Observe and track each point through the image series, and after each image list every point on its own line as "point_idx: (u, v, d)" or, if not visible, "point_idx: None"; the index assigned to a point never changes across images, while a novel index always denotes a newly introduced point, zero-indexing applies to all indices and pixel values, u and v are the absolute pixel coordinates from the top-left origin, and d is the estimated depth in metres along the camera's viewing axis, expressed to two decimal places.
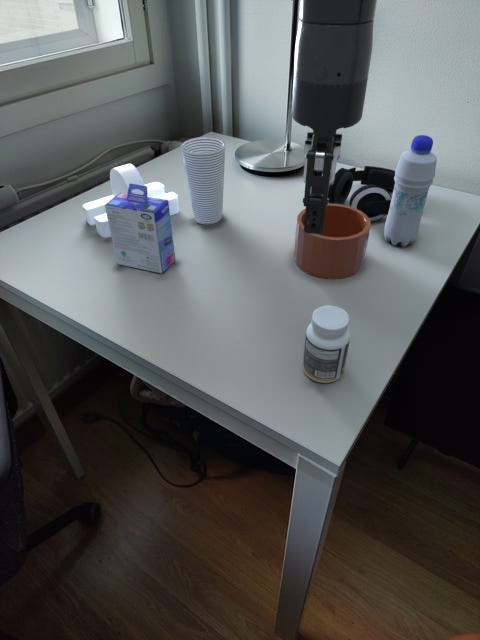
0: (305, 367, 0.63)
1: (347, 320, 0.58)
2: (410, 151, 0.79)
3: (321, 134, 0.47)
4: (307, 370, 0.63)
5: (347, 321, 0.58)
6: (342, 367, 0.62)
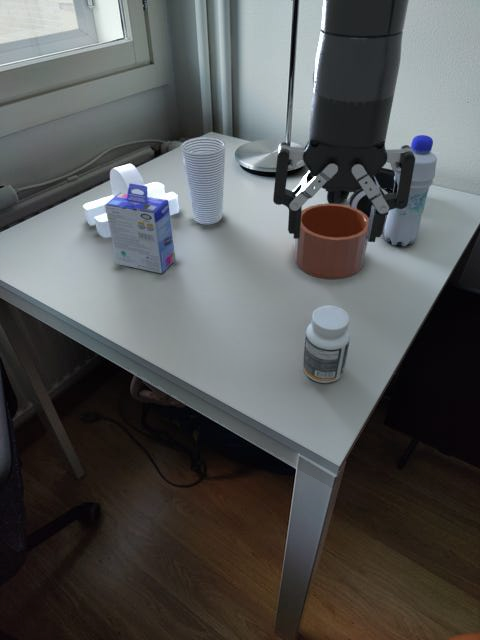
0: (305, 367, 0.63)
1: (347, 320, 0.58)
2: None
3: None
4: (307, 370, 0.63)
5: (347, 321, 0.58)
6: (342, 367, 0.62)
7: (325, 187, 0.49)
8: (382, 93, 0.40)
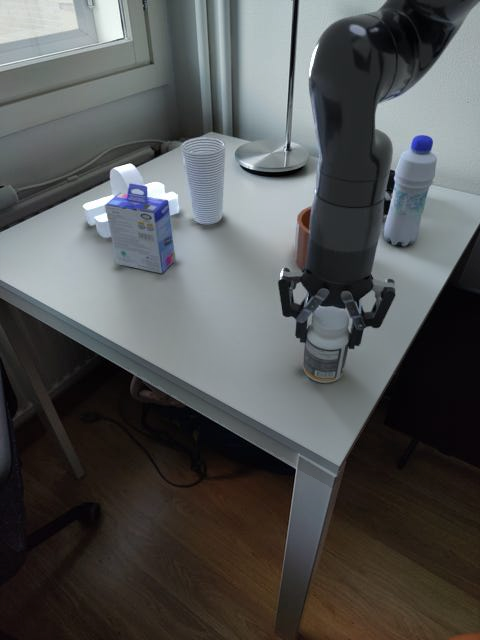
0: (305, 367, 0.63)
1: (347, 320, 0.58)
2: (410, 151, 0.79)
3: None
4: (307, 370, 0.63)
5: (347, 321, 0.58)
6: (342, 367, 0.62)
7: None
8: (364, 245, 0.48)
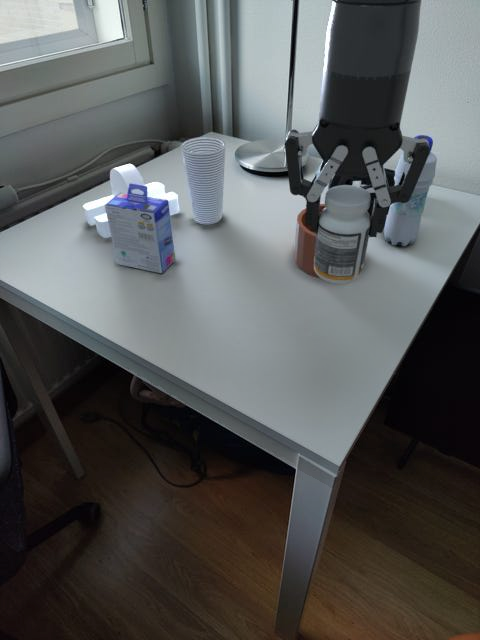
0: (317, 266, 0.53)
1: (368, 197, 0.48)
2: None
3: None
4: (319, 269, 0.53)
5: (368, 198, 0.48)
6: (361, 263, 0.52)
7: (335, 171, 0.46)
8: (395, 68, 0.37)
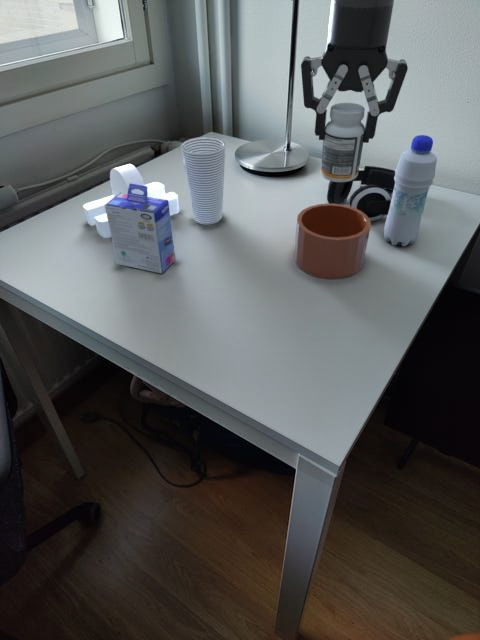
0: (323, 169, 0.69)
1: (363, 109, 0.64)
2: (410, 151, 0.79)
3: None
4: (325, 171, 0.69)
5: (363, 109, 0.64)
6: (357, 164, 0.68)
7: (338, 87, 0.62)
8: (382, 1, 0.53)
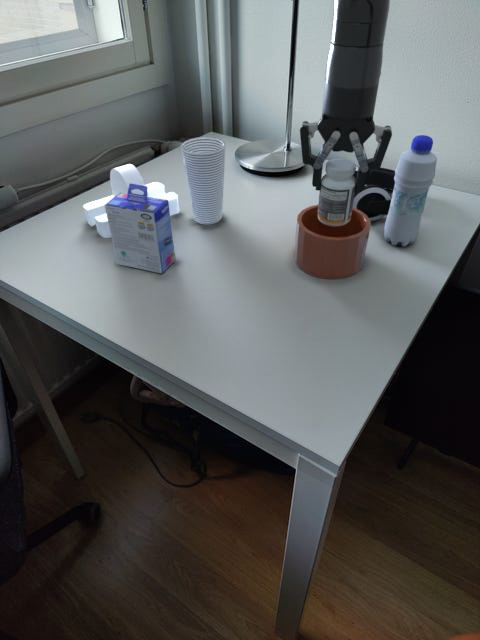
0: (319, 214, 0.78)
1: (354, 165, 0.73)
2: (410, 151, 0.79)
3: None
4: (321, 216, 0.78)
5: (354, 166, 0.73)
6: (349, 211, 0.77)
7: (332, 148, 0.71)
8: (368, 83, 0.63)
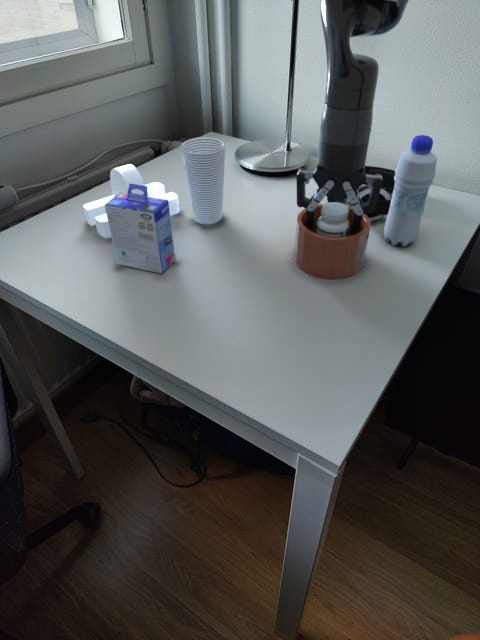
0: None
1: (347, 210, 0.78)
2: (410, 151, 0.79)
3: None
4: None
5: (347, 210, 0.78)
6: None
7: (326, 195, 0.76)
8: (359, 140, 0.68)
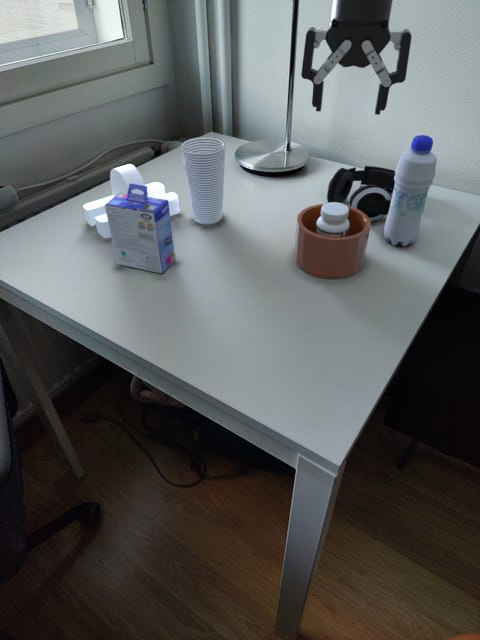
0: None
1: (347, 210, 0.78)
2: (410, 151, 0.79)
3: None
4: None
5: (347, 210, 0.78)
6: None
7: (342, 63, 0.64)
8: None
